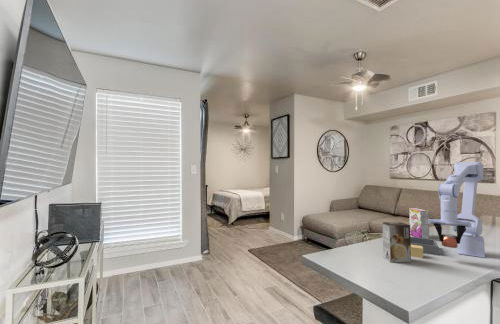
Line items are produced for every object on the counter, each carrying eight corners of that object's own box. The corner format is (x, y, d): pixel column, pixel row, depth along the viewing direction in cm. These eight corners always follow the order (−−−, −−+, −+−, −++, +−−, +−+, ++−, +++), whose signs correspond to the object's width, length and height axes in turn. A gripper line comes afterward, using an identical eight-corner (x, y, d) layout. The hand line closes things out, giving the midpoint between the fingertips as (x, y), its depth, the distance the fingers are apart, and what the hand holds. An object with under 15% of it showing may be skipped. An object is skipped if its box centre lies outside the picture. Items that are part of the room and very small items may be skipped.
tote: (435, 247, 127) (435, 239, 127) (438, 255, 116) (438, 246, 116) (404, 243, 134) (403, 235, 134) (404, 250, 123) (404, 242, 123)
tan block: (422, 255, 116) (422, 246, 116) (423, 258, 112) (423, 248, 112) (410, 253, 118) (410, 244, 118) (411, 256, 114) (410, 247, 114)
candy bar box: (408, 234, 152) (408, 207, 153) (417, 234, 152) (416, 207, 153) (421, 239, 141) (420, 210, 142) (430, 239, 141) (429, 211, 142)
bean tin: (456, 245, 109) (456, 234, 109) (458, 248, 105) (458, 237, 105) (440, 243, 112) (440, 233, 112) (442, 246, 107) (442, 235, 107)
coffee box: (402, 257, 113) (402, 221, 113) (411, 262, 106) (411, 225, 107) (382, 257, 113) (381, 221, 113) (390, 262, 107) (389, 225, 107)
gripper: (429, 210, 109) (429, 241, 109) (473, 213, 101) (473, 247, 101) (427, 208, 115) (428, 237, 115) (468, 211, 108) (469, 242, 107)
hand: (449, 242), depth 108 cm, fingers closed on bean tin, 5 cm apart
